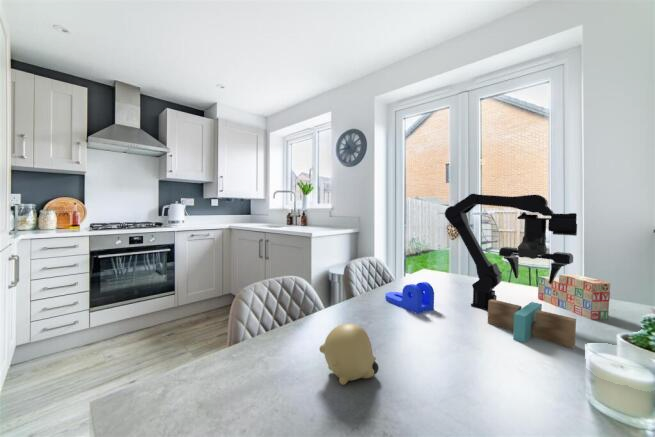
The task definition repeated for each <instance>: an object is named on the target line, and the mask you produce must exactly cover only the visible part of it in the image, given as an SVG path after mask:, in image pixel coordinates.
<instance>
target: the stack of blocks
mask: <svg viewBox="0 0 655 437" xmlns="http://www.w3.org/2000/svg"><path fill="white" fill-rule="evenodd" d="M549 279H550V275H548V276H547V275H545V276H542V275H541V276H540V275H539V276H538V281H537V282H538V283H537V284H538V286H537V287H538V288H537V291H538V292H537V299H538V300H540V301H543V302H544V303H548V304H551V305H553V306H555V307H558V308H561V309H563V310H566V311H568V312H571V313H573V314H576V315H578V316H580V317H583V318H586V319H588V320H594V321H595V320H597V321H598V320H609V308H610V298H611V296H610V295H611V292H610V291H611V283H610V282H608V281H603V280H600V279H597V278H593V277H588V276H585V275H584V276H583V275H580V274H576V273H560V274H558V277H557V276H556V277H555V278H554V280H553V282H552V284H549Z"/></svg>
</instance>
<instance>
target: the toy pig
mask: <svg viewBox="0 0 655 437" xmlns="http://www.w3.org/2000/svg"><path fill="white" fill-rule="evenodd" d="M318 351H319V352H320V353H322V354H323V355H324V359H325V361H326V363H327V366H328V367H327V368H328V370H329V371H332V373H333V374H334V375H335V376H336V377H337V378H339V379H338V380H339V384H341V385H342V386H343V385H346V384H347V383H348V382H349V381H351V382H352V381H355V380H358V379H370V378H373V377H374V375H376V374H377V373H378V372H379V370H380V369H379V368H380V367H379V364H378V363H377V362H376V360H377V357H375V355H374V354H373V348H372V343H371V340H370V337H369V335H368V333H367V332H366V330H365V329H364V328H363V327H361V326H360V325H357V324H354V323H342V324H340V325H337V326H335V327H334V328H333V329H331V331H330V332H329V333H328V334H327V336H326V338H325V341H324V343H323V344H321V345H320V346H319V350H318Z"/></svg>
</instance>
